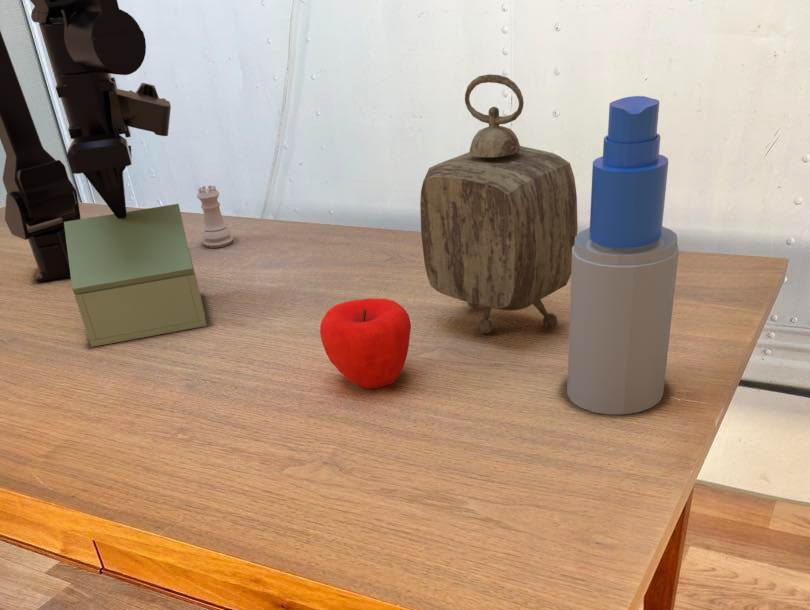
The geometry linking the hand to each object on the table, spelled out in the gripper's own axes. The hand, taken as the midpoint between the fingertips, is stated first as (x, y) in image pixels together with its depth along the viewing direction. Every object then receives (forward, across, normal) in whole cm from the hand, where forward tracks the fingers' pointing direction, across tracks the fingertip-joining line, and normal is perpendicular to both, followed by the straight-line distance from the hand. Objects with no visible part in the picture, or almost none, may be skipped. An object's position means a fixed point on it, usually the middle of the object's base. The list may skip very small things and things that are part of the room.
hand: (122, 217), depth 101 cm
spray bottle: (+12, -44, -43) cm, 63 cm away
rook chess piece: (+12, +22, -11) cm, 27 cm away
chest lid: (+3, -4, 0) cm, 5 cm away
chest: (+12, -4, 0) cm, 12 cm away
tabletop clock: (+12, -25, -38) cm, 47 cm away
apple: (+12, -32, -22) cm, 40 cm away
